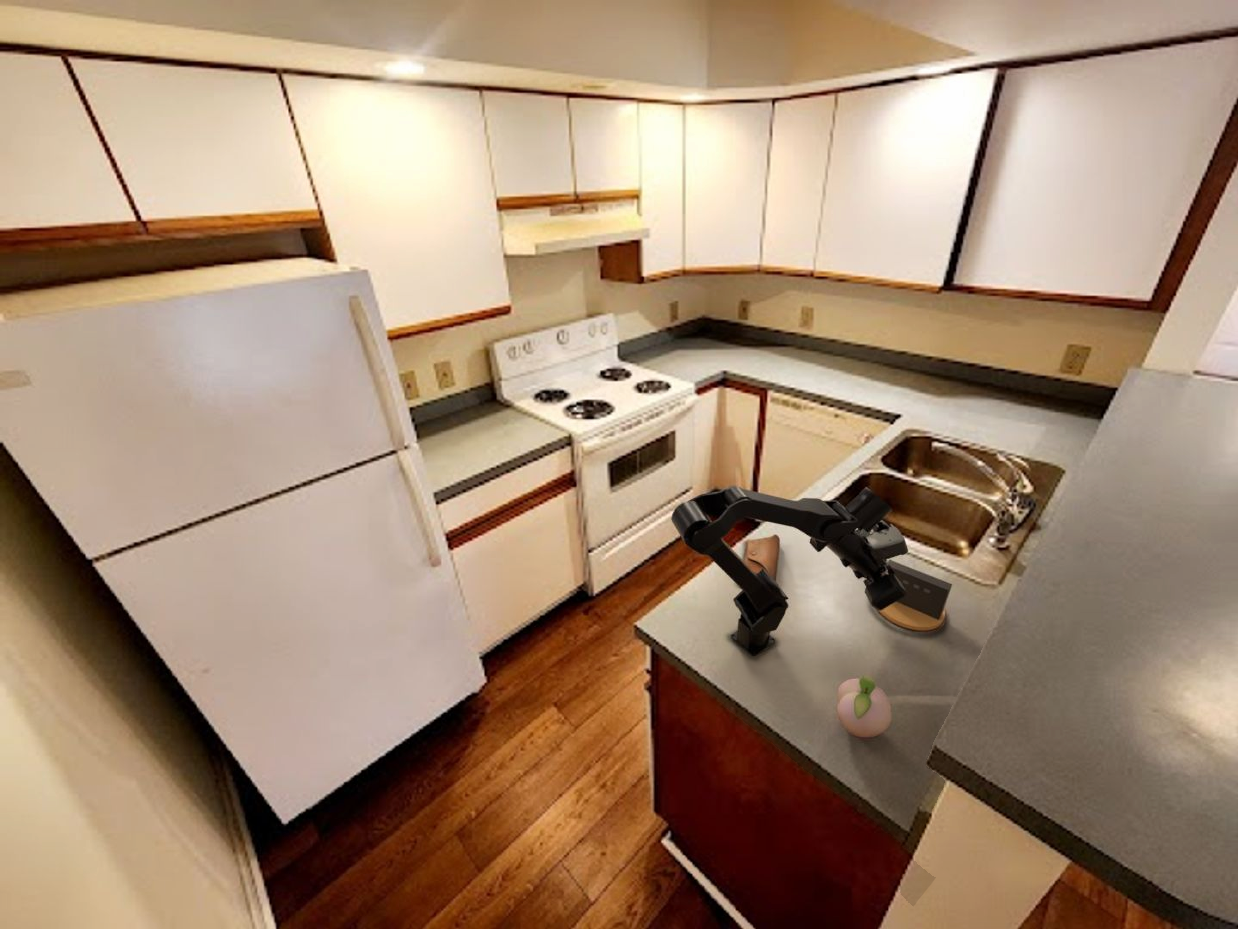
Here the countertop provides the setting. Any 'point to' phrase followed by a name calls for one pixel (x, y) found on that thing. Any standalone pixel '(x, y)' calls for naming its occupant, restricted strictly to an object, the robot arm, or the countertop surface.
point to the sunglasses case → (763, 555)
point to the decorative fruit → (863, 707)
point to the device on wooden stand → (918, 599)
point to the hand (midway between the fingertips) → (895, 589)
